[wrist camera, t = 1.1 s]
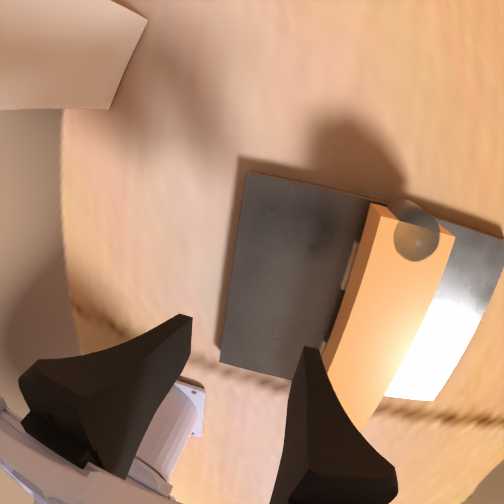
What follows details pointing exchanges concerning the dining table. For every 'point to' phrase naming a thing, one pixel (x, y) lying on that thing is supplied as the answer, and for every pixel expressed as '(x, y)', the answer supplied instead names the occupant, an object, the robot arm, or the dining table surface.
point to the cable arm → (384, 303)
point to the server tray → (338, 283)
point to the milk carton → (64, 52)
